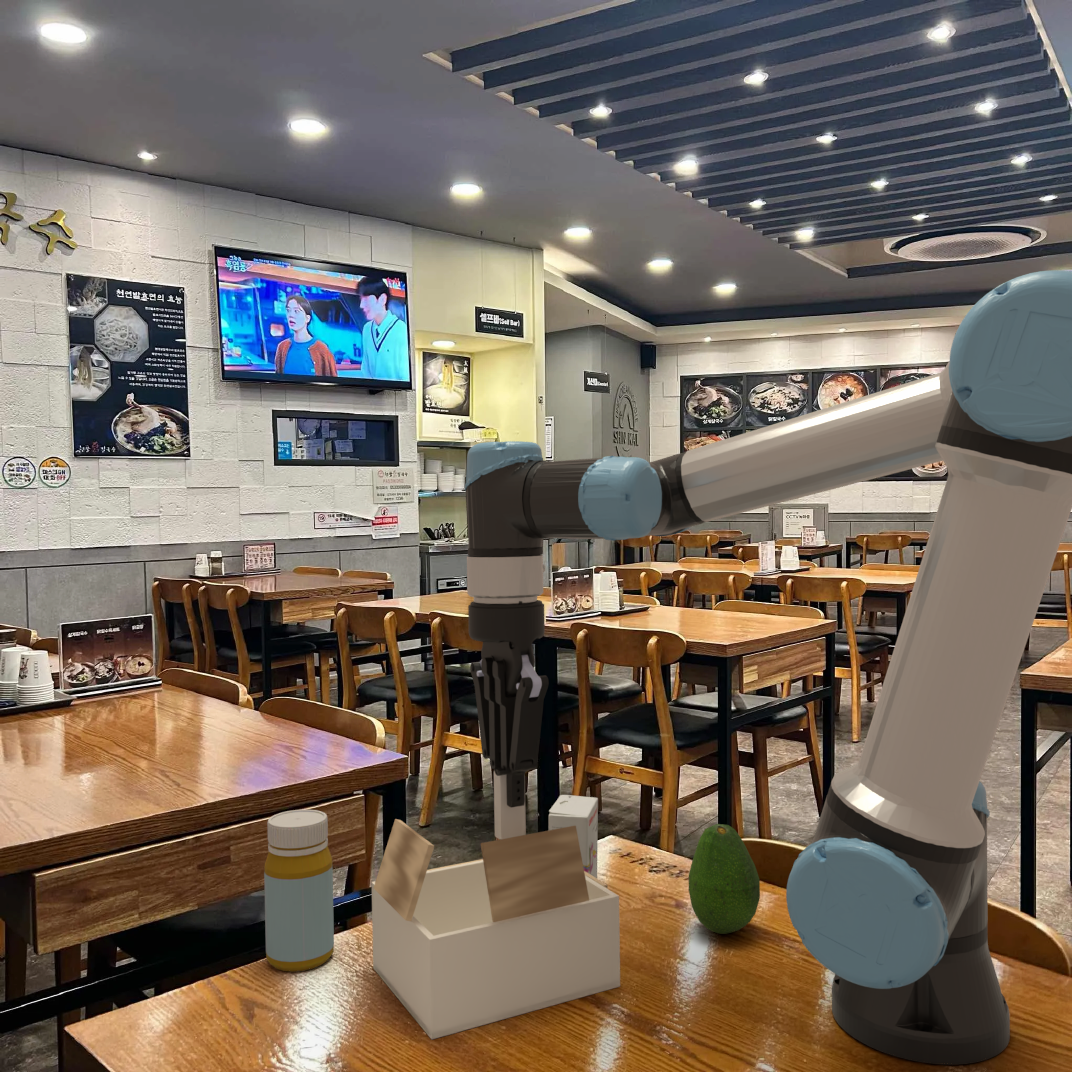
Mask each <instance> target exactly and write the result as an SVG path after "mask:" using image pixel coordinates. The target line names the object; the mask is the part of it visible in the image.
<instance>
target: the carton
mask: <svg viewBox="0 0 1072 1072" xmlns="http://www.w3.org/2000/svg"><path fill="white" fill-rule="evenodd" d="M584 873H585V879H586V884H587V890H588V895H589V901H585V902H581V903H576V904H572V905H567V906H563V907H559V908H554V909H550V910H546V911H541V912H537V913H533V914H528V915H524V916H520V917H515V918H511V919H506V920H502V921H498V922H493V921H492V915H491V908H490V902H489V895H488V889H487V882H486V876H485V869H484V863H483V858H481V859H476V860H471V861H466V862H461V863H455V864H450V865H445V866H440V867H435V868H431V869H427V872H426V875H425V878H424V881H423V885H422V888H421V891H420V894H419V898H418V901H417V904H416V908H415V911H414V914H413V917H412V921H406V920H405V919H404V918H403V917H402V916H401V915H400V914H399V913H398V912H397V911H396V910H395V909H394V908H393V907H392V906H391V905H390V904H389V903H388V902H387V901H386V900H385V899H384V898H383V897H382V896H381V895H380V894H379V893H378V892H377V891H376V890H375V889H374V885H375V882H376V880H374V881H371V913H372V914H371V915H372V916H371V918H372V919H371V921H372V923H371V924H372V926H371V927H372V969H374V970H373V971H375V972H376V973H377V975H378V976H379V977H380V979H381V980H382V981H383V982H384V984H386V986H387V987H388V988H389V989H390V991H391V992H392V993H393V994H394V995H395V997H396V998H397V999H398V1000H399V1002H400V1003H401V1004H402V1005H403V1006H404V1008H405V1009H406V1010H407V1012H409V1014H410V1015H411V1016H412V1017H413V1019H414V1021H416V1022H417V1023H418V1025H419V1026H420V1027H421V1029H422V1030H423V1031H424V1032H425V1033H426V1034H427V1036H428V1037H429V1039H431V1040H435V1039H438V1038H442V1037H445V1036H449V1035H453V1034H456V1033H460V1032H462V1031H463V1032H464V1031H467V1030H470V1029H474V1028H478V1027H481V1026H484V1025H488V1024H492V1023H495V1022H499V1021H501V1020H502V1021H503V1020H505V1019H509V1018H513V1017H516V1016H517V1017H518V1016H520V1015H524V1014H527V1013H531V1012H535V1011H538V1010H540V1009H545V1008H549V1007H552V1006H557V1005H558V1004H563V1003H565V1002H569V1001H574V1000H577V999H581V998H584V997H587V996H591V995H594V994H598V993H601V992H605V991H609V990H613V989H615V988H619V987H621V947H620V946H621V943H620V942H621V941H620V940H621V939H620V938H621V935H620V932H621V931H620V928H621V927H620V895H619V894H616V893H615V892H614V891H612V890H610V889H608V884H607V883H605V882H604V881H602V880H601V879H599V878H598V877H597V878H595V877H594V876H592V875H590V874H589V873H587V872H585V871H584Z"/></svg>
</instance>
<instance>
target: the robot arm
mask: <svg viewBox="0 0 1072 1072" xmlns="http://www.w3.org/2000/svg"><path fill="white" fill-rule="evenodd" d="M542 454H543V453H542V448H541V447H540V445H539V444H538V443H536V442H533V441H520V440H519V441H515V440H512V441H511V440H510V441H506V440H505V441H486V442H485V441H484V442H480V443H476V444H474V445H472V446H471V447H469V449H468V451H467V455H466V456H467V457H466V473H465V475H466V477H465V479H466V480H465V484H464V492H465V504H466V506H465V507H466V519H467V520H466V522H467V539H468V540H467V542H468V543H467V544H468V547H467V556H466V574H467V577H466V578H467V582H466V583H467V587H466V589H467V595H468V596H469V597H471V598H473V601H471V602H470V603H469V605H468V608H467V610H468V612H467V613H468V635H469V638H470V639H472V640H473V641H477V642H482V647H481V650H480V651H481V655H480V656H481V660H479V661H476V662H475V661H474V662H471V663H470V667H469V669H470V673H471V676H472V677H471V679H472V681H473V684H474V685H473V686H474V692H475V700H476V701H475V702H476V709H477V719H478V728H479V736H480V737H479V738H480V745H481V746H480V747H481V753H482V757H483V759H485V760H487V759H489V765H490V768H491V769H492V770H493V797H494V798H493V810H494V813H493V815H494V837H495V838H496V839H498V840H501V839H506V838H511V837H517V836H522V835H527V832H526V831H527V830H526V827H527V825H526V776H525V775H526V773H527V772H528V771H531V770H536V769H537V768H538V760H539V752H540V751H539V750H540V742H541V732H542V721H543V711H544V701H545V697H546V696H547V695H546V694H547V690H548V689H549V684H550V682H549V678H548V676H547V675H538V674H537V672H536V670H535V668H534V667H535V665H536V664H535V662H536V660H535V655H534V650H533V646H532V644H533V643H534V641H535V640H540V639H541V638H543V637H544V635H545V632H546V631H545V624H546V623H545V603H543V601H542V600H539V599H538V597H540V596H541V595H543V593H544V573H545V571H546V566H545V564H544V556H543V555H544V540H545V539H546V540H552V539H571V540H572V539H573V540H574V539H578V540H606V541H612V542H614V541H624V540H629V539H639V538H644V537H646V536H655V537H668V536H673V535H677V534H680V533H683V532H685V531H687V530H689V529H691V528H692V527H695V526H699V525H701V524H704V523H708V522H711V521H716V520H719V519H723V518H727V517H731V516H736V515H739V514H743V513H746V512H750V511H754V510H758V509H762V508H765V507H770V506H773V505H774V506H775V505H776V504H781V503H785V502H788V501H789V502H790V501H793V500H796V499H797V500H798V499H801V498H804V497H808V496H812V495H813V496H814V495H815V494H819V493H824V492H827V491H831V490H835V489H839V488H843V487H847V486H851V485H855V484H858V483H861V482H865V481H869V480H873V479H878V478H881V477H886V476H890V475H893V474H898V473H901V472H904V471H908V470H912V469H916V468H921V467H923V466H928V465H931V464H935V463H939V462H943V463H944V464H945V466H946V468H947V472H948V476H947V478H946V482H945V485H944V488H943V492H942V493H941V494H942V495H941V498H940V501H939V503H938V504H939V505H938V508H937V510H936V513H935V517H934V521H933V524H932V527H931V530H930V533H929V537H928V540H927V543H926V546H925V550H924V552H923V556H922V558H921V561H920V565H919V568H918V572H917V575H916V577H915V581H914V583H913V584H914V585H913V587H912V590H911V595H910V598H909V600H908V604H907V607H906V610H905V613H904V616H903V619H902V623H901V626H900V629H899V631H898V634H897V635H898V636H897V638H896V641H895V645H894V648H893V651H892V655H891V658H890V661H889V664H888V668H887V670H886V673H885V677H884V679H883V683H882V686H881V690H880V693H879V697H878V699H877V701H876V705H875V709H874V712H873V715H872V719H871V722H870V725H869V727H868V732H867V735H866V739H865V741H864V744H863V747H862V750H861V754H860V756H859V757H860V758H859V759H858V762H857V763H856V764H854V765H851V766H850V767H848V768H846V769H843V770H841V771H838V772H836V773H835V774H834V775H833V778H832V779H831V782H830V785H829V788H828V792H827V795H826V797H825V801H824V804H823V807H822V812H821V814H820V817H819V820H818V824H817V827H816V830H815V832H814V836H813V839H812V841H811V843H810V844H808V846H806V847H805V848H804V849H803V850H802V851H801V852H800V853H799V854H798V855H797V856H798V857H797V859H795V860H794V862H793V864H792V865H793V866H792V868H791V871H790V873H789V875H788V879H787V884H786V892H785V893H786V895H785V897H786V906H787V912H788V914H789V915H788V916H789V918H790V921H791V924H792V927H793V928H794V930H796V933H797V935H798V936H799V938H800V940H801V943H802V944H803V946H804V947H805V948H806V949H807V951H808V952H809V953H810V955H812V956H813V958H814V959H816V960H817V961H818V962H819V963H820V964H821V965H822V966H823V967H825V968H826V969H827V970H828V971H830V972H832V973H833V974H834V976H833V979H832V984H831V1011H832V1015H833V1018H834V1019H835V1021H836V1023H837V1024H838V1026H840V1027H841V1029H842V1030H844V1032H846V1033H847V1034H848V1035H850V1036H851V1037H852V1038H854V1039H855V1040H856V1041H859V1042H861V1043H862V1044H864V1045H865V1046H868V1047H870V1048H872V1049H874V1050H877V1051H879V1052H881V1053H884V1054H886V1055H889V1056H893V1057H896V1058H900V1059H904V1060H908V1061H912V1062H919V1063H926V1064H933V1065H949V1066H950V1065H966V1064H973V1063H975V1064H976V1063H978V1062H984V1061H987V1060H989V1059H992V1058H993V1057H996V1056H997V1055H999V1054H1001V1053H1002V1052H1003V1051H1005V1049H1006V1048H1007V1047H1008V1045H1009V1042H1010V1038H1011V1036H1010V1035H1011V1032H1010V1031H1011V1028H1010V1027H1011V1026H1010V1024H1011V1022H1010V1021H1011V1020H1010V1015H1011V1014H1010V1009H1009V1005H1008V1003H1007V1000H1006V999H1005V996H1004V994H1003V993H1002V991H1001V985H1000V982H999V979H998V976H997V972H996V969H995V965H994V962H993V959H992V955H991V953H990V948H989V945H988V944H989V943H988V921H989V920H988V916H989V915H988V818H990V814H991V813H990V810H989V808H988V801H987V791H986V787H985V786H984V784H983V783H982V781H981V778H982V775H983V772H984V769H985V767H986V763H987V760H988V758H989V755H990V751H991V748H992V747H993V746H992V745H993V743H994V740H995V736H996V734H997V730H998V728H999V725H1000V721H1001V720H1002V716H1003V713H1004V709H1005V707H1006V703H1007V700H1008V698H1009V695H1010V693H1011V689H1012V686H1013V684H1014V680H1015V677H1016V675H1017V671H1018V670H1019V669H1018V668H1019V665H1020V663H1021V659H1022V656H1023V655H1024V651H1025V648H1026V645H1027V642H1028V639H1029V637H1030V632H1031V630H1032V627H1033V624H1034V621H1035V619H1036V615H1037V612H1038V609H1039V606H1040V605H1041V604H1040V603H1041V600H1042V599H1043V594H1044V592H1045V589H1046V586H1047V582H1048V580H1049V577H1050V573H1051V572H1052V569H1053V565H1054V562H1055V560H1056V556H1057V553H1058V550H1059V547H1060V544H1061V542H1062V539H1063V535H1064V533H1065V529H1066V526H1067V524H1068V520H1069V517H1070V514H1071V512H1072V271H1071V270H1059V269H1057V270H1056V269H1053V270H1042V271H1035V272H1030V273H1026V274H1023V275H1020V276H1016V277H1014V278H1012V279H1009V280H1008V281H1007V280H1006V282H1003V283H1002V284H999V285H997V286H996V287H994V288H993V289H992V290H990V291H989V292H987V293H986V294H984V296H983V297H981V298H980V299H979V300H978V301H977V302H976V303H975V304H974V305H973V306H972V307H971V308H970V310H969V311H968V312H967V313H966V315H965V316H964V318H963V319H962V320H961V321H960V324H959V326H958V328H957V329H956V332H955V335H954V336H953V340H952V343H951V348H950V353H949V361H948V363H947V364H946V365H945V368H944V369H943V370H942V371H941V372H938V373H936V374H931V375H928V376H924V377H923V378H919V379H915V380H912V381H909V382H906V383H902V384H899V385H896V386H892V387H890V388H886V389H883V390H880V391H877V392H874V393H871V394H867V395H865V396H861V397H860V396H859V397H858V398H854V399H851V400H848V401H845V402H841V403H839V404H835V405H831V406H828V407H824V408H822V409H819V410H815V411H812V412H809V413H805V414H802V415H799V416H796V417H792V418H790V419H786V420H783V421H780V422H777V423H774V424H770V425H766V426H763V427H761V428H758V429H757V428H756V429H753V430H751V431H748V432H743V433H741V434H738V435H735V436H731V437H728V438H724V439H721V440H719V441H715V442H712V443H708V444H705V445H702V446H700V447H699V446H698V447H696V448H693V449H689V450H686V451H684V452H681V453H677V454H673V455H669V456H667V457H664V458H661V459H657V460H653V461H647V460H646V459H645V458H641V457H639V456H638V457H636V456H635V457H633V456H632V457H631V456H629V457H627V456H622V455H621V456H615V455H607V456H603V457H594V458H581V459H580V458H579V459H568V460H557V461H556V460H552V461H551V460H544V458H543V455H542Z"/></svg>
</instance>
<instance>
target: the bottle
mask: <svg viewBox="0 0 1072 1072" xmlns="http://www.w3.org/2000/svg"><path fill="white" fill-rule="evenodd" d="M328 822H329V821H328V815H327V813H325V812H324V811H320V810H318V809H295V810H294V809H293V810H287V811H282V812H279V813H276V814H274V815H272V816H271V817H268V820H267V823H266V824H267V841H268V843H267V845H268V846H267V848H268V853H267V857H266V860H265V862H264V871H263V878H264V883H263V884H264V914H265V915H264V922H265V925H264V927H265V954H266V955H265V956H266V960H267V962H268V963H269V964H270V965H271V966H272V967H273V968H275V969H276V970H278V971H283V972H291V973H294V972H295V973H296V972H304V971H309V970H313V969H315V968H318V967H320V966H322V965H323V964H325V963H326V962H327V961H328V960H329V959H330V957H331V956H332V955H333V953H334V951H335V950H334V949H335V945H334V944H335V934H334V933H335V930H334V928H335V927H334V925H335V924H334V923H335V922H334V920H335V919H334V891H333V890H334V880H333V879H334V878H333V877H334V876H333V857H332V854H331V851H330V848H329V847H328V845H329V839H328V835H329V832H328V831H329V828H328V827H329V825H328Z"/></svg>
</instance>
